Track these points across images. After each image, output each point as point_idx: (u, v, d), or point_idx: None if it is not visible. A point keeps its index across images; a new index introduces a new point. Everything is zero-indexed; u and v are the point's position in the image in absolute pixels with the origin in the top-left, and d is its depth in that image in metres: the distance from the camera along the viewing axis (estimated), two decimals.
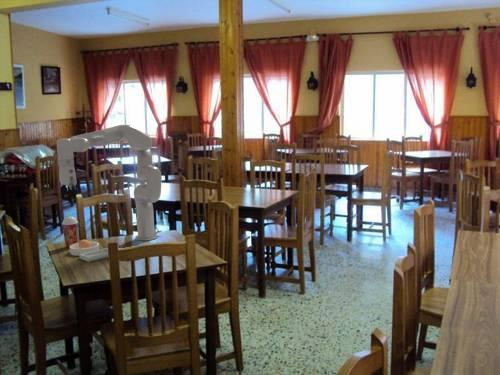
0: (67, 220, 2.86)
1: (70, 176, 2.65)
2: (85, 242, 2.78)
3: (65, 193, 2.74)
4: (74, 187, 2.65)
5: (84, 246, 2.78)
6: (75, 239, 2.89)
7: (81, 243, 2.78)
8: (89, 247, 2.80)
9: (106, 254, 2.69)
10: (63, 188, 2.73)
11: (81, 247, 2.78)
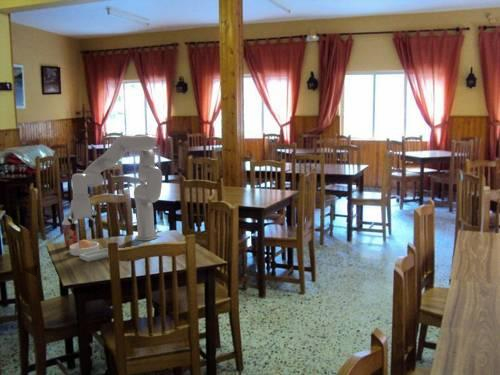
0: (67, 220, 2.86)
1: None
2: (85, 242, 2.78)
3: None
4: None
5: (84, 246, 2.78)
6: (75, 239, 2.89)
7: (81, 243, 2.78)
8: (89, 247, 2.80)
9: (106, 254, 2.69)
10: None
11: (81, 247, 2.78)
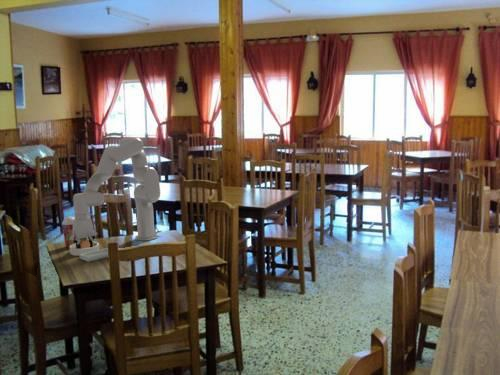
0: (67, 220, 2.86)
1: None
2: (85, 242, 2.78)
3: None
4: None
5: (84, 246, 2.78)
6: (75, 239, 2.89)
7: (81, 243, 2.78)
8: (89, 247, 2.80)
9: (106, 254, 2.69)
10: None
11: (81, 247, 2.78)
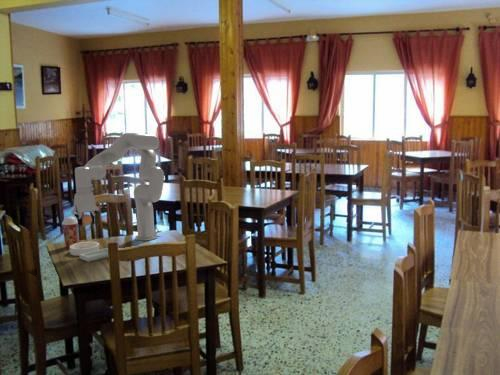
0: (67, 220, 2.86)
1: None
2: (87, 217, 2.73)
3: None
4: None
5: (86, 221, 2.72)
6: (75, 239, 2.89)
7: (83, 218, 2.73)
8: (91, 222, 2.75)
9: (106, 254, 2.69)
10: None
11: (83, 222, 2.72)
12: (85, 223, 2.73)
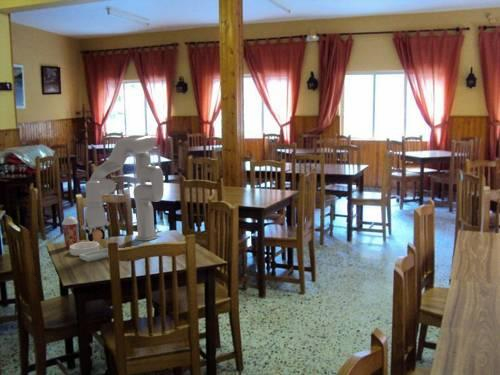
0: (67, 220, 2.86)
1: None
2: (97, 232, 2.67)
3: None
4: None
5: (96, 236, 2.66)
6: (75, 239, 2.89)
7: (93, 233, 2.66)
8: (101, 237, 2.68)
9: (106, 254, 2.69)
10: None
11: (93, 237, 2.66)
12: (95, 238, 2.66)
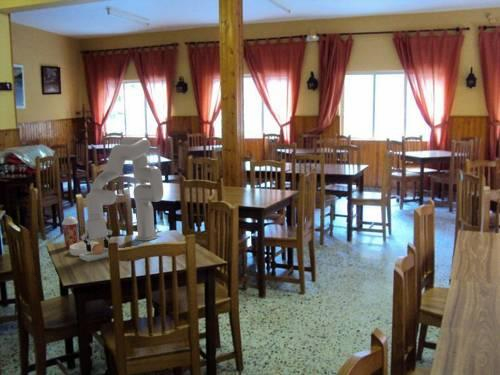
0: (67, 220, 2.86)
1: None
2: (99, 246, 2.68)
3: None
4: None
5: (98, 250, 2.67)
6: (75, 239, 2.89)
7: (95, 247, 2.68)
8: None
9: (106, 254, 2.69)
10: None
11: (95, 251, 2.67)
12: (97, 253, 2.68)
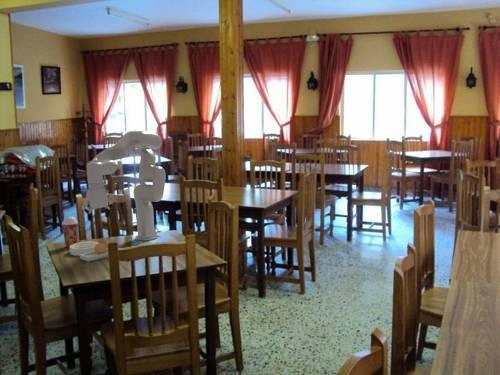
0: (67, 220, 2.86)
1: None
2: (102, 245, 2.69)
3: None
4: None
5: (100, 249, 2.68)
6: (75, 239, 2.89)
7: (98, 245, 2.69)
8: (104, 252, 2.70)
9: (106, 254, 2.69)
10: None
11: (97, 249, 2.68)
12: (98, 251, 2.68)
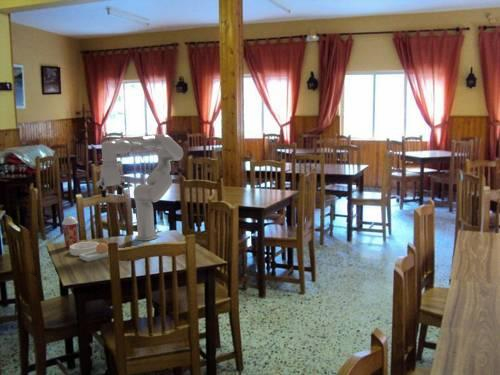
0: (67, 220, 2.86)
1: None
2: (105, 245, 2.71)
3: None
4: None
5: (102, 248, 2.69)
6: (75, 239, 2.89)
7: (102, 244, 2.70)
8: None
9: (106, 254, 2.69)
10: None
11: (99, 247, 2.69)
12: (100, 249, 2.69)
